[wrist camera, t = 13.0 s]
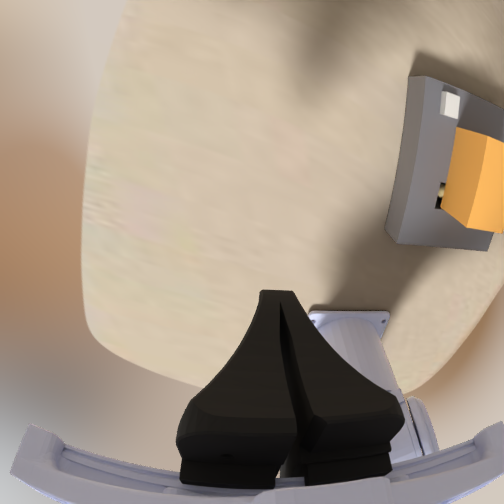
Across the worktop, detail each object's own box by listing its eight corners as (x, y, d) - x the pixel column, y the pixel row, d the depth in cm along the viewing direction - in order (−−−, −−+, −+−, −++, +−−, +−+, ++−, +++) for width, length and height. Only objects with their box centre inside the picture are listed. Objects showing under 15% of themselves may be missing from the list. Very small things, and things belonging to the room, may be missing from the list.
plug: (463, 204, 20) (502, 233, 15) (427, 197, 20) (466, 227, 15) (477, 136, 17) (523, 152, 12) (441, 123, 17) (487, 135, 12)
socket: (472, 238, 22) (490, 254, 19) (384, 228, 22) (399, 247, 19) (499, 113, 16) (523, 118, 13) (408, 76, 16) (430, 75, 13)
